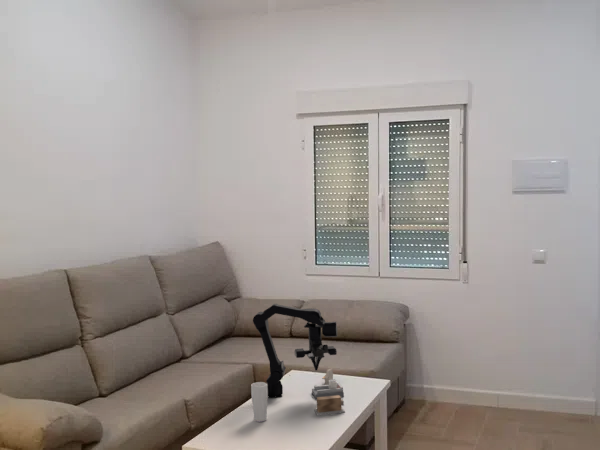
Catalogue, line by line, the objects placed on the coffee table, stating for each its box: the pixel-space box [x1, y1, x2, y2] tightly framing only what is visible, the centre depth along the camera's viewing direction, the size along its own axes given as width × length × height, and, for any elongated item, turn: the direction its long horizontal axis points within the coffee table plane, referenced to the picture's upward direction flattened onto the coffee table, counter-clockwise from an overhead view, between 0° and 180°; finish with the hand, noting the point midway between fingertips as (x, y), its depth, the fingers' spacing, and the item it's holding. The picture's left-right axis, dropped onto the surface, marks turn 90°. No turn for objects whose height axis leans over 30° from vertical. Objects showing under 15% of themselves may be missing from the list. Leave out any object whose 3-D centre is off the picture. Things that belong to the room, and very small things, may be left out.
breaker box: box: [311, 382, 345, 400], centre depth 282 cm, size 13×9×4 cm
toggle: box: [329, 378, 338, 389], centre depth 282 cm, size 3×4×4 cm
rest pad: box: [314, 406, 346, 416], centre depth 260 cm, size 12×6×1 cm, turn 100°
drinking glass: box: [250, 381, 268, 423], centre depth 253 cm, size 7×7×15 cm
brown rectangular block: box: [316, 395, 345, 412], centre depth 260 cm, size 11×3×6 cm, turn 101°
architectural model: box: [321, 367, 334, 385], centre depth 299 cm, size 3×7×7 cm, turn 155°
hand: (316, 370), depth 280 cm, fingers closed
